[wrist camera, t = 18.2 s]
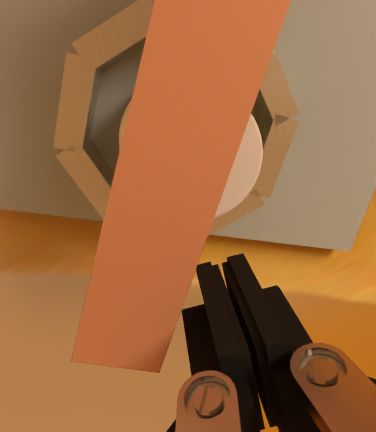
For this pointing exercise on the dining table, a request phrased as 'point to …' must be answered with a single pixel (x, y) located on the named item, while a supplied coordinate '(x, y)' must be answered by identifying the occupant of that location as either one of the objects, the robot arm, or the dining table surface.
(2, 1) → the board
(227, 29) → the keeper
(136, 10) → the socket
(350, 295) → the dining table surface
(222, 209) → the supplement bottle
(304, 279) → the dining table surface
